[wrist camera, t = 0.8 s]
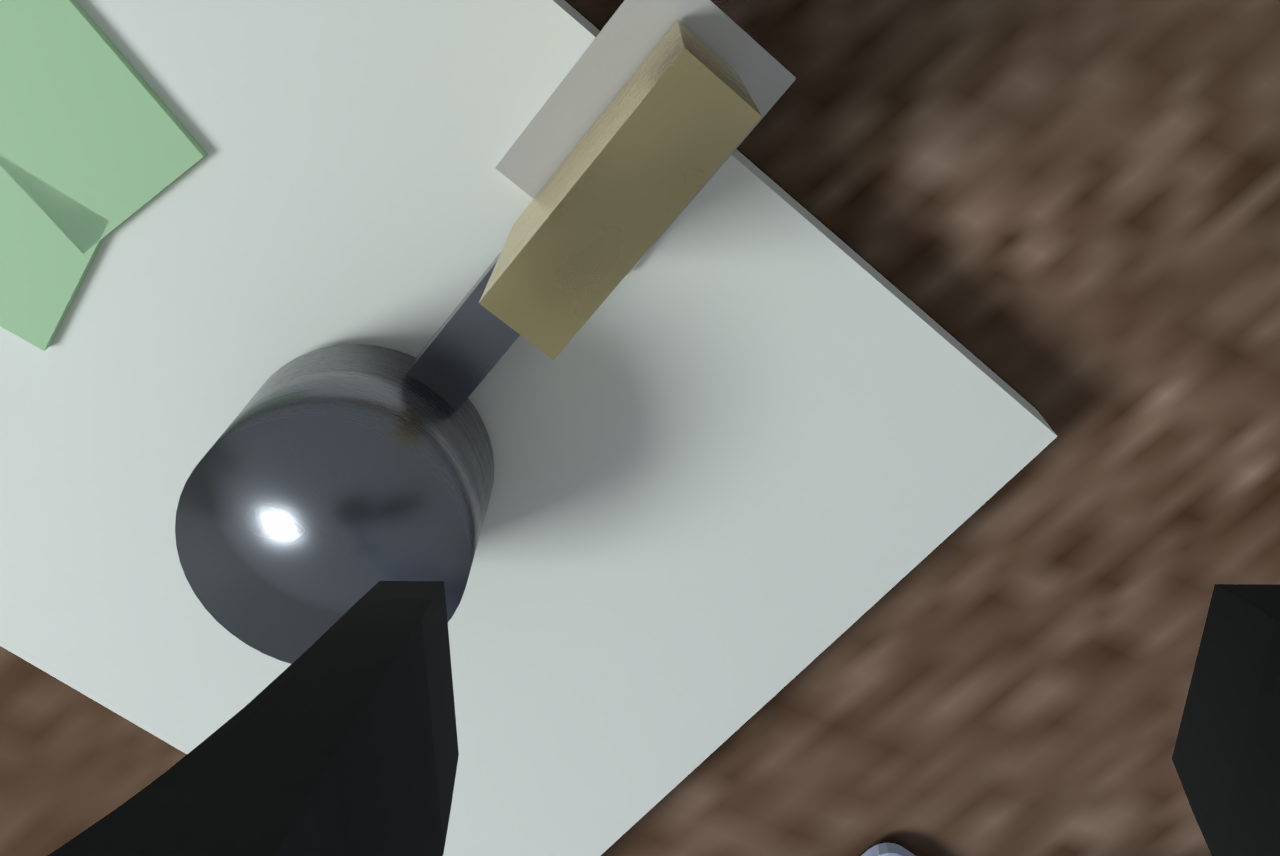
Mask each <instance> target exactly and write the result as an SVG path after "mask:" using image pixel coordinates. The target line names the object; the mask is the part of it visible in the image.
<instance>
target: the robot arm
mask: <svg viewBox="0 0 1280 856" xmlns="http://www.w3.org/2000/svg"><path fill="white" fill-rule="evenodd" d="M458 756H459V752H458V740H457V728H456V716H455V705H454V693H453V681H452V669H451V657H450V645H449V633H448V621H447V610H446V598H445V586H444V581H379V582H378V583H377V584H376V585H375V586H373V587H372V588H371V589H370V590H369V591H368V592H367V593H366V594H365V595H364V596H363V597H362V598H360V599H359V600H358V601H357V602H356V603H355V604H354V605H353V606H352V607H351V608H350V609H349V610H348V611H347V612H346V613H345V614H343V615H342V616H341V617H340V618H339V619H338V620H337V621H336V622H335V623H334V624H333V625H332V626H331V627H330V628H329V629H328V630H327V631H326V632H325V633H324V634H323V635H322V636H321V637H320V638H319V639H317V640H316V641H315V642H314V643H313V644H312V645H311V646H310V647H309V648H308V649H307V650H306V651H305V652H304V653H303V654H302V655H301V656H300V657H299V658H298V659H296V660H295V661H294V662H293V663H292V664H291V665H290V666H289V667H288V668H287V669H286V670H285V671H284V672H282V673H281V674H280V675H279V676H278V677H277V678H276V679H275V680H274V681H273V682H271V683H270V684H269V685H268V686H267V687H266V688H265V689H264V690H263V691H262V692H260V693H259V694H258V695H257V696H256V697H255V698H254V699H253V700H252V701H251V702H250V703H248V704H247V705H246V706H245V707H244V708H243V709H242V710H240V711H239V712H238V713H237V714H236V715H234V716H233V717H232V718H231V719H230V720H228V721H227V722H226V723H225V724H224V725H222V726H221V727H220V728H219V729H217V730H216V731H215V732H214V733H213V734H211V735H210V736H209V737H208V738H207V739H205V740H204V741H203V742H202V743H201V744H199V745H198V746H197V747H196V748H194V749H193V750H192V751H191V752H190V753H188V754H187V755H186V756H185V757H184V758H182V759H181V760H180V761H179V762H178V763H176V764H175V765H174V766H173V767H172V768H170V769H169V770H168V771H167V772H165V773H164V774H163V775H161V776H160V777H159V778H157V779H156V780H155V781H153V782H152V783H151V784H150V785H148V786H147V787H146V788H144V789H143V790H142V791H140V792H139V793H137V794H136V795H135V796H133V797H132V798H131V799H129V800H128V801H126V802H125V803H124V804H122V805H121V806H120V807H118V808H117V809H116V810H114V811H113V812H111V813H110V814H108V815H107V816H105V817H104V818H102V819H101V820H100V821H98V822H97V823H95V824H94V825H92V826H91V827H89V828H88V829H86V830H85V831H84V832H82V833H81V834H79V835H78V836H76V837H75V838H73V839H72V840H70V841H69V842H68V843H66V844H65V845H63V846H62V847H60V848H59V849H57V850H56V851H54V852H53V853H51V854H50V855H48V856H443V853H444V848H445V842H446V835H447V829H448V823H449V817H450V811H451V804H452V797H453V790H454V784H455V777H456V770H457V763H458ZM1172 760H1173V762H1174V765H1175V767H1176V770H1177V773H1178V775H1179V778H1180V780H1181V783H1182V785H1183V788H1184V790H1185V793H1186V795H1187V798H1188V801H1189V803H1190V806H1191V808H1192V811H1193V813H1194V815H1195V818H1196V820H1197V822H1198V825H1199V827H1200V829H1201V831H1202V834H1203V836H1204V838H1205V841H1206V843H1207V845H1208V848H1209V850H1210V852H1211V854H1212V856H1280V585H1224V584H1215V587H1214V591H1213V595H1212V599H1211V603H1210V607H1209V611H1208V615H1207V619H1206V623H1205V627H1204V631H1203V635H1202V639H1201V643H1200V647H1199V651H1198V656H1197V660H1196V664H1195V668H1194V672H1193V676H1192V680H1191V684H1190V688H1189V692H1188V696H1187V700H1186V704H1185V708H1184V712H1183V716H1182V720H1181V724H1180V728H1179V733H1178V737H1177V741H1176V745H1175V749H1174V753H1173V757H1172ZM861 856H915V855H914V854H912V853H911V852H909V851H908V850H906V849H905V848H903V847H902V846H900V845H897V844H895V843H881V844H877V845H875V846H873V847H872V848H870V849H869V850H867V851H866V852H865V853H864V854H863V855H861Z"/></svg>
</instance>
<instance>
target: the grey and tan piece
mask: <svg viewBox="0 0 1280 856" xmlns="http://www.w3.org/2000/svg"><path fill="white" fill-rule="evenodd" d="M761 117H762V115H761V114H760V112H759V110H758V108H757V106H756V105H755V103H754V101H753V99H752V97H751V96H750V94H749V92H748V90H747V88H746V87H745V85H744V83H743V81H742V79H741V78H740V76H739V74H738V73H737V72H736V71H735V70H734V69H733V68H732V67H731V66H730V65H728V64H727V63H726V62H725V61H724V60H723V59H722V58H721V57H719V56H718V55H717V54H716V53H715V52H714V51H713V50H712V49H710V48H709V47H708V46H707V45H706V44H705V43H704V42H703V41H702V40H700V39H699V38H698V37H697V36H696V35H695V34H694V33H693V32H691V31H690V30H689V29H688V28H687V27H686V26H685V25H684V24H682V23H681V22H680V21H679V20H678V19H676V20H675V22H674V23H673V24H672V26H671V27H670V28H669V29H668V31H667V32H666V33H665V34H664V36H663V37H662V38H661V39H660V41H659V42H658V43H657V44H656V46H655V47H654V48H653V49H652V51H651V52H650V53H649V54H648V56H647V57H646V58H645V59H644V61H643V62H642V63H641V64H640V66H639V67H638V68H637V69H636V71H635V72H634V73H633V75H632V76H631V77H630V78H629V80H628V81H627V82H626V83H625V85H624V86H623V87H622V88H621V90H620V91H619V92H618V93H617V95H616V96H615V97H614V98H613V100H612V101H611V102H610V103H609V105H608V106H607V107H606V108H605V110H604V111H603V112H602V113H601V115H600V116H599V117H598V118H597V120H596V121H595V122H594V124H593V125H592V126H591V127H590V129H589V130H588V131H587V132H586V134H585V135H584V136H583V137H582V139H581V140H580V141H579V142H578V144H577V145H576V146H575V147H574V149H573V150H572V151H571V152H570V154H569V155H568V156H567V157H566V159H565V160H564V161H563V162H562V164H561V165H560V166H559V167H558V169H557V170H556V171H555V173H554V174H553V175H552V176H551V178H550V179H549V180H548V181H547V183H546V184H545V185H544V186H543V188H542V189H541V190H540V191H539V193H538V194H537V195H536V196H535V198H534V199H533V200H532V201H531V203H530V204H529V205H528V206H527V208H526V209H525V210H524V211H523V213H522V214H521V215H520V216H519V218H518V219H517V220H516V222H515V223H514V224H513V226H512V228H511V231H510V233H509V235H508V238H507V240H506V242H505V244H504V247H503V249H502V251H501V252H500V253H499V255H498V256H497V257H496V258H495V260H494V261H493V262H492V263H491V265H490V266H489V267H488V268H487V270H486V271H485V272H484V273H483V275H482V276H481V277H480V278H479V280H478V281H477V282H476V283H475V285H474V286H473V287H472V288H471V290H470V291H469V292H468V293H467V295H466V296H465V297H464V298H463V300H462V301H461V302H460V303H459V305H458V306H457V307H456V308H455V310H454V311H453V312H452V313H451V315H450V316H449V317H448V318H447V320H446V321H445V322H444V323H443V325H442V326H441V327H440V328H439V330H438V331H437V332H436V333H435V335H434V336H433V337H432V338H431V340H430V341H429V342H428V343H427V345H426V346H425V347H424V348H423V350H422V351H421V352H420V353H419V355H418V356H417V357H416V358H415V357H413V356H411V355H408V354H406V353H403V352H400V351H397V350H394V349H389V348H385V347H380V346H374V345H364V344H344V345H336V346H330V347H325V348H321V349H318V350H314V351H311V352H308V353H306V354H304V355H301V356H299V357H297V358H295V359H293V360H292V361H290V362H288V363H287V364H285V365H284V366H282V367H281V368H280V369H278V370H277V371H276V372H275V373H274V374H273V375H271V376H270V377H269V378H268V380H267V381H266V382H265V383H264V384H263V385H262V386H261V388H260V389H259V390H258V391H257V392H256V394H255V395H254V396H253V397H252V399H251V400H250V401H249V402H248V403H247V405H246V406H245V407H244V408H243V410H242V411H241V412H240V413H239V414H238V416H237V417H236V418H235V419H234V420H233V422H232V423H231V424H230V425H229V427H228V428H227V429H226V430H225V431H224V433H223V434H222V435H221V436H220V438H219V439H218V440H217V441H216V442H215V444H214V445H213V446H212V447H211V448H210V450H209V451H208V452H207V453H206V455H205V456H204V457H203V458H202V459H201V461H200V462H199V463H198V464H197V466H196V467H195V468H194V470H193V471H192V473H191V475H190V476H189V478H188V479H187V481H186V483H185V486H184V488H183V491H182V493H181V495H180V499H179V503H178V507H177V511H176V521H175V537H176V547H177V551H178V556H179V560H180V564H181V566H182V569H183V571H184V574H185V577H186V579H187V581H188V583H189V584H190V586H191V588H192V590H193V592H194V594H195V595H196V596H197V598H198V599H199V601H200V602H201V603H202V605H203V606H204V608H205V609H206V610H207V611H208V612H209V613H210V614H211V615H212V616H213V618H214V619H215V620H216V621H217V622H218V623H219V624H221V625H222V626H223V627H224V628H225V629H226V630H227V631H229V632H230V633H231V634H232V635H234V636H235V637H237V638H238V639H239V640H241V641H242V642H244V643H245V644H247V645H249V646H250V647H252V648H254V649H256V650H258V651H260V652H261V653H263V654H266V655H268V656H270V657H273V658H275V659H278V660H280V661H283V662H287V663H290V664H292V663H293V662H294V661H295V660H296V659H298V658H299V657H300V656H301V655H302V654H303V653H304V652H305V651H306V650H307V649H308V648H309V647H310V646H311V645H312V644H313V643H314V642H315V641H316V640H317V639H319V638H320V637H321V636H322V635H323V634H324V633H325V632H326V631H327V630H328V629H329V628H330V627H331V626H332V625H333V624H334V623H335V622H336V621H337V620H338V619H339V618H340V617H341V616H342V615H343V614H345V613H346V612H347V611H348V610H349V609H350V608H351V607H352V606H353V605H354V604H355V603H356V602H357V601H358V600H359V599H360V598H362V597H363V596H364V595H365V594H366V593H367V592H368V591H369V590H370V589H371V588H372V587H373V586H375V585H376V584H377V583H378V582H379V581H444V586H445V598H446V610H447V621H448V622H449V620H450V619H451V618H452V616H453V615H454V613H455V611H456V609H457V608H458V606H459V604H460V602H461V599H462V596H463V594H464V591H465V588H466V585H467V581H468V577H469V574H470V570H471V566H472V563H473V559H474V555H475V552H476V548H477V544H478V541H479V537H480V533H481V530H482V526H483V522H484V519H485V515H486V511H487V508H488V504H489V500H490V497H491V492H492V487H493V482H494V457H493V450H492V446H491V442H490V438H489V435H488V432H487V430H486V427H485V425H484V422H483V421H482V419H481V417H480V415H479V413H478V411H477V410H476V408H475V407H474V405H473V404H472V403H471V401H470V400H469V399H468V397H469V396H470V395H471V393H472V392H473V391H474V390H475V389H476V387H477V386H478V385H479V384H480V383H481V381H482V380H483V379H484V378H485V377H486V375H487V374H488V373H489V372H490V371H491V369H492V368H493V367H494V366H495V365H496V363H497V362H498V361H499V360H500V359H501V357H502V356H503V355H504V354H505V353H506V351H507V350H508V349H509V348H510V347H511V345H512V344H513V343H514V342H515V341H516V339H517V338H518V337H519V336H520V335H521V336H522V337H524V338H525V339H526V340H528V341H529V342H530V343H532V344H533V345H534V346H536V347H537V348H538V349H539V350H541V351H542V352H543V353H545V354H546V355H547V356H549V357H550V358H551V359H553V360H554V359H555V358H556V357H557V356H558V354H559V353H560V352H561V351H562V350H563V349H564V347H565V346H566V345H567V344H568V343H569V341H570V340H571V339H572V338H573V337H574V336H575V334H576V333H577V332H578V331H579V330H580V329H581V327H582V326H583V325H584V324H585V323H586V322H587V320H588V319H589V318H590V317H591V316H592V315H593V313H594V312H595V311H596V310H597V309H598V308H599V306H600V305H601V304H602V303H603V302H604V301H605V299H606V298H607V297H608V296H609V295H610V294H611V292H612V291H613V290H614V289H615V288H616V287H617V285H618V284H619V283H620V282H621V281H622V280H623V278H624V277H625V276H626V275H627V274H628V273H629V271H630V270H631V269H632V268H633V267H634V266H635V264H636V263H637V262H638V261H639V260H640V258H641V257H642V256H643V255H644V254H645V253H646V251H647V250H648V249H649V248H650V247H651V246H652V244H653V243H654V242H655V241H656V240H657V239H658V237H659V236H660V235H661V234H662V233H663V232H664V230H665V229H666V228H667V227H668V226H669V225H670V223H671V222H672V221H673V220H674V219H675V218H676V216H677V215H678V214H679V213H680V212H681V211H682V209H683V208H684V207H685V206H686V205H687V204H688V202H689V201H690V200H691V199H692V198H693V197H694V195H695V194H696V193H697V192H698V191H699V190H700V188H701V187H702V186H703V185H704V184H705V182H706V181H707V180H708V179H709V178H710V177H711V175H712V174H713V173H714V172H715V171H716V170H717V168H718V167H719V166H720V165H721V164H722V163H723V161H724V160H725V159H726V158H727V157H728V156H729V154H730V153H731V152H732V151H733V150H734V149H735V147H736V146H737V145H738V144H739V143H740V142H741V140H742V139H743V138H744V137H745V136H746V135H747V133H748V132H749V131H750V130H751V129H752V128H753V126H754V125H755V124H756V123H757V122H758V121H759V119H760V118H761Z"/></svg>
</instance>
